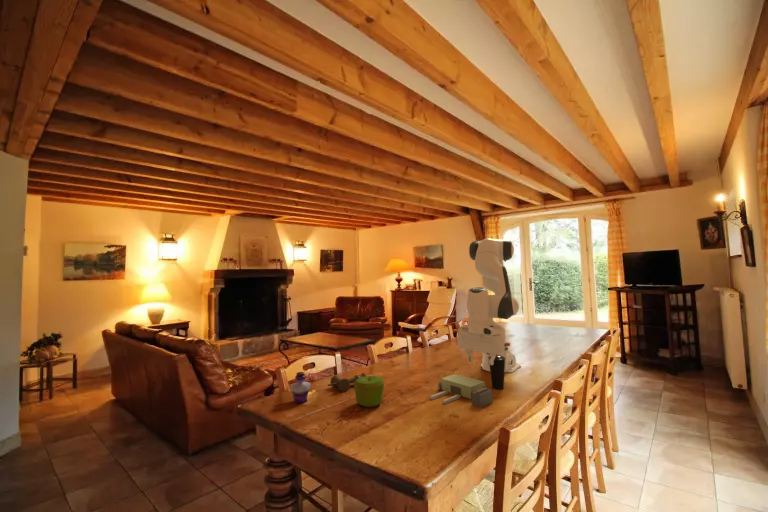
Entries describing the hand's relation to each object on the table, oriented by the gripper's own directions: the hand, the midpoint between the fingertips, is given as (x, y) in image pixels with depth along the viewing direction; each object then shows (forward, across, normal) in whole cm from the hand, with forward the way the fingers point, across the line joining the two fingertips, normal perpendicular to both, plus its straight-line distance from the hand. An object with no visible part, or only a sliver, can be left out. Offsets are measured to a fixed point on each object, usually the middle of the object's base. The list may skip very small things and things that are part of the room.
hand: (480, 362), depth 139 cm
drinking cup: (+16, -6, +21) cm, 27 cm away
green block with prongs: (+16, -14, 0) cm, 21 cm away
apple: (+16, -31, -33) cm, 48 cm away
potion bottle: (+16, -54, -52) cm, 77 cm away
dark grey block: (+16, 0, 0) cm, 16 cm away
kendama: (+16, -55, -28) cm, 64 cm away
